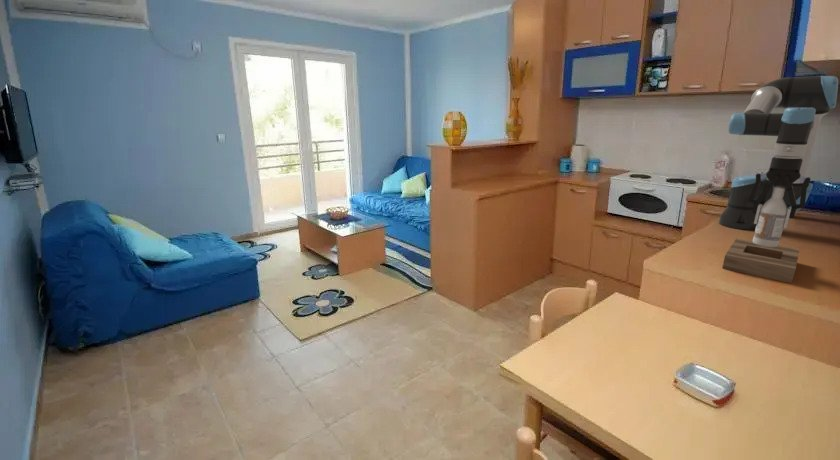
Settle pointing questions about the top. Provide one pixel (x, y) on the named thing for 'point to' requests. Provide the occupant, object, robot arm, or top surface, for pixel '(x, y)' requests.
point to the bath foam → (771, 220)
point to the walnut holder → (762, 260)
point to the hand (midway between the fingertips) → (769, 225)
